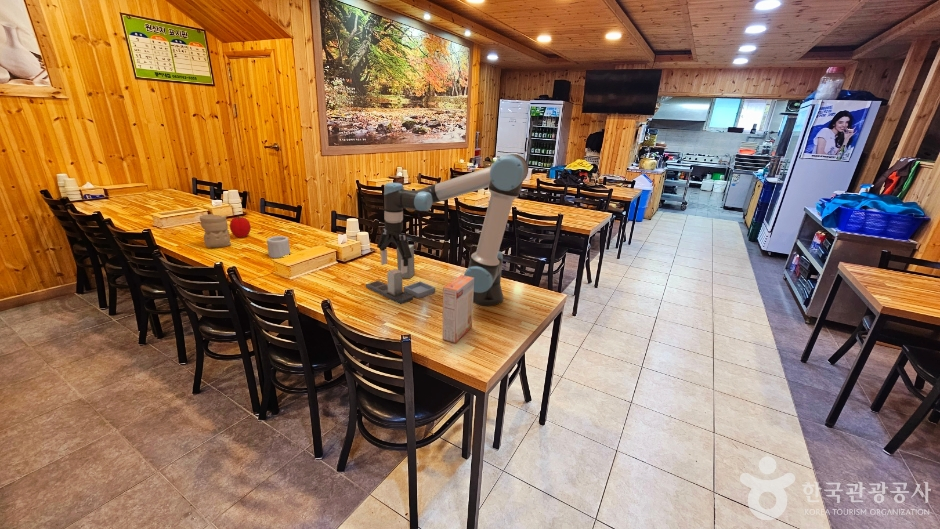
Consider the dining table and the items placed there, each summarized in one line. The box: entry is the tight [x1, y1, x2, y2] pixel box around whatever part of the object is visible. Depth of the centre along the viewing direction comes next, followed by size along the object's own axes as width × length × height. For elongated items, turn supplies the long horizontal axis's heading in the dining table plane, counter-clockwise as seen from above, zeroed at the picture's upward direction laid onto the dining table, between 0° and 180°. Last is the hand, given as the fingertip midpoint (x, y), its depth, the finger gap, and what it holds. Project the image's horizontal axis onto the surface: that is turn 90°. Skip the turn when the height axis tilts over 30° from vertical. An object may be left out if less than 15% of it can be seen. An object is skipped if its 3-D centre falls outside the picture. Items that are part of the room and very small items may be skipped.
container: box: [199, 213, 232, 248], centre depth 215 cm, size 13×13×18 cm
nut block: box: [386, 268, 404, 297], centre depth 164 cm, size 5×5×12 cm
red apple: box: [229, 216, 251, 238], centre depth 235 cm, size 12×12×13 cm
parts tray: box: [403, 280, 436, 300], centre depth 171 cm, size 10×10×2 cm
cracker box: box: [442, 274, 474, 344], centre depth 135 cm, size 14×6×21 cm, turn 154°
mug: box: [266, 235, 291, 259], centre depth 207 cm, size 14×11×10 cm
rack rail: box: [365, 280, 414, 305], centre depth 168 cm, size 25×7×2 cm, turn 50°
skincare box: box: [396, 244, 416, 280], centre depth 187 cm, size 8×7×16 cm
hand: (394, 268), depth 161 cm, fingers open, 13 cm apart
